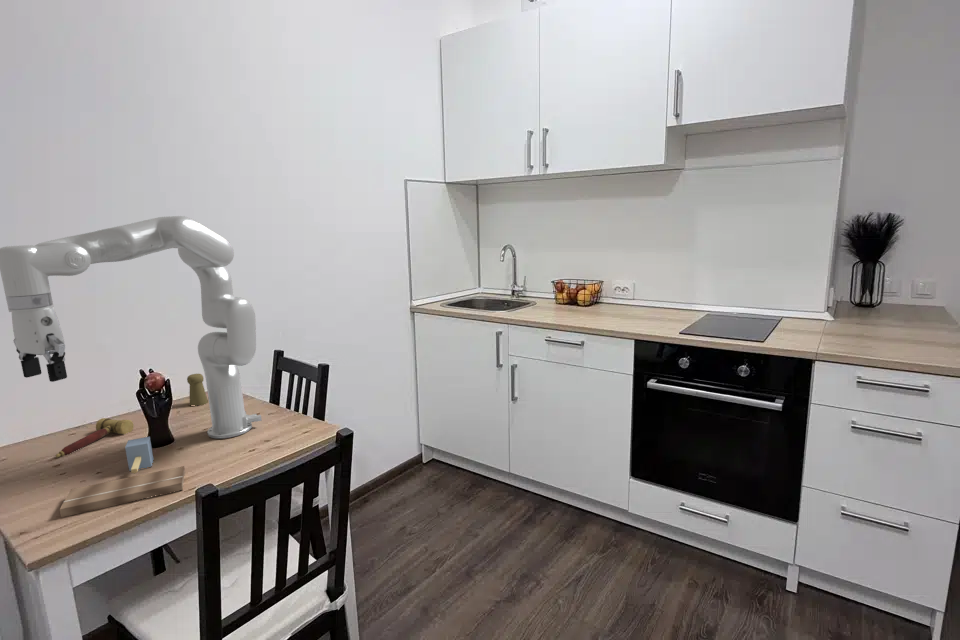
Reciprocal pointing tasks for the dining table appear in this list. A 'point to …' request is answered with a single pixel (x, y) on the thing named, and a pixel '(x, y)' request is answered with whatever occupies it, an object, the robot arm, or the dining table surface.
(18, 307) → the robot arm
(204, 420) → the dining table surface
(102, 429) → the gavel
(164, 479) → the board
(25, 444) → the dining table surface
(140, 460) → the blue block with stick
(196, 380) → the cork
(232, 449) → the dining table surface
